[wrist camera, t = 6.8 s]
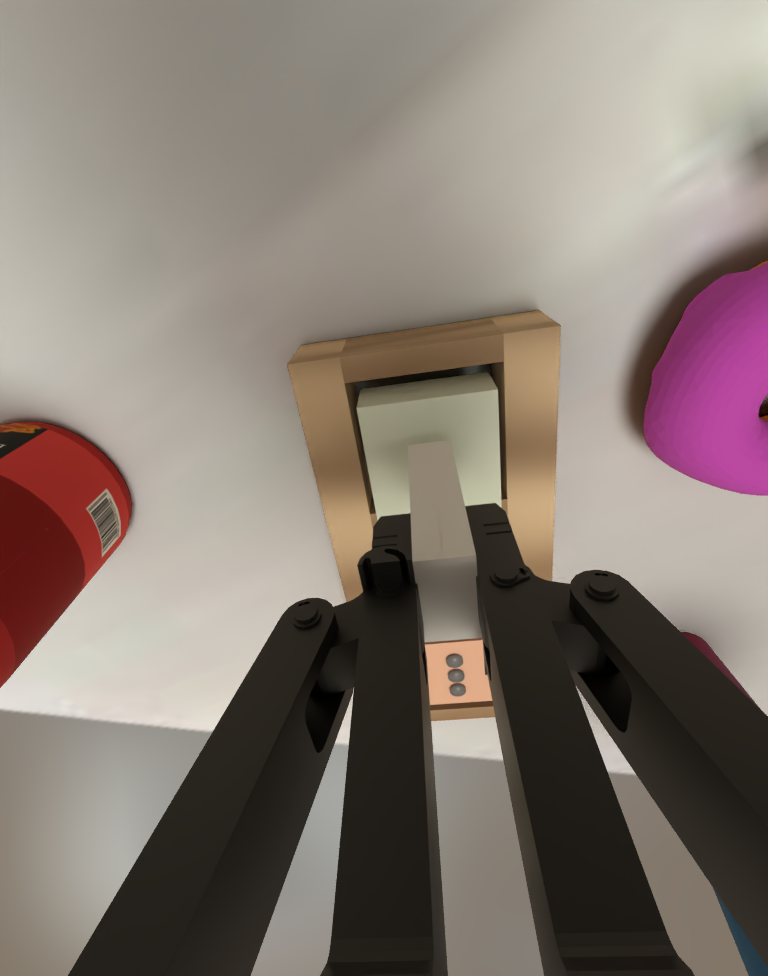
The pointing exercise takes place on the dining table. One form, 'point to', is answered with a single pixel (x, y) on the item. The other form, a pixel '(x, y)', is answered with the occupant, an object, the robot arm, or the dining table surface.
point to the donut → (716, 387)
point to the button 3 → (457, 671)
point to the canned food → (51, 529)
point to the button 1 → (431, 436)
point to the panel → (498, 340)
